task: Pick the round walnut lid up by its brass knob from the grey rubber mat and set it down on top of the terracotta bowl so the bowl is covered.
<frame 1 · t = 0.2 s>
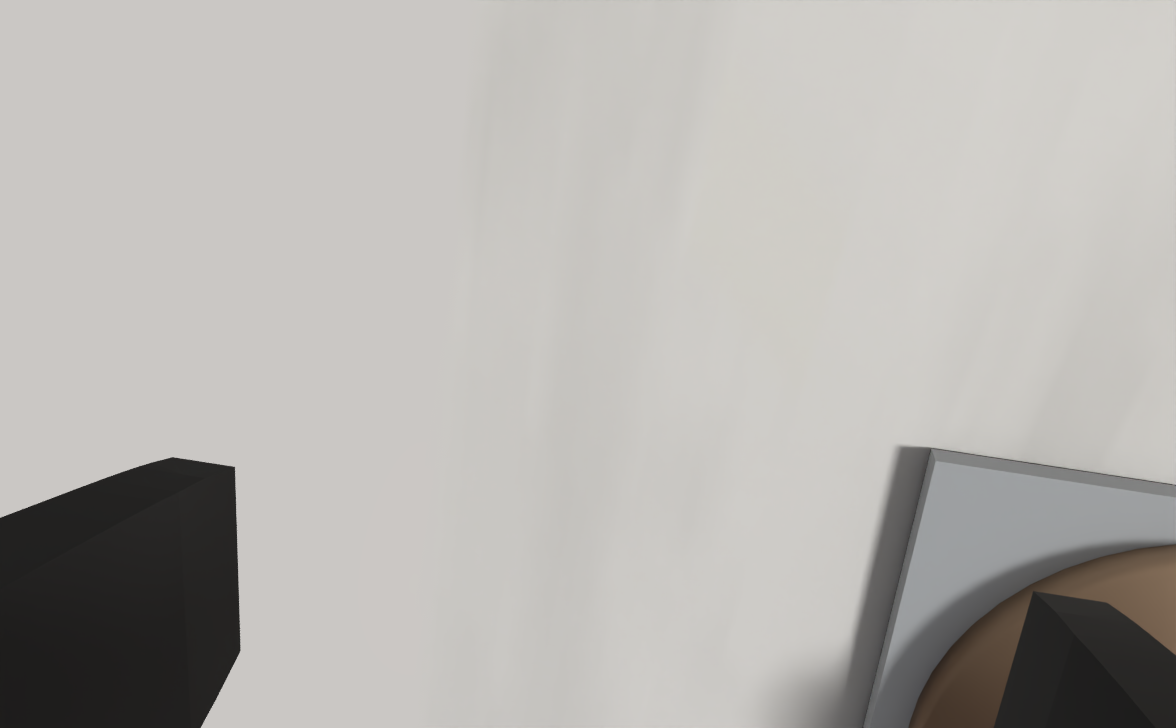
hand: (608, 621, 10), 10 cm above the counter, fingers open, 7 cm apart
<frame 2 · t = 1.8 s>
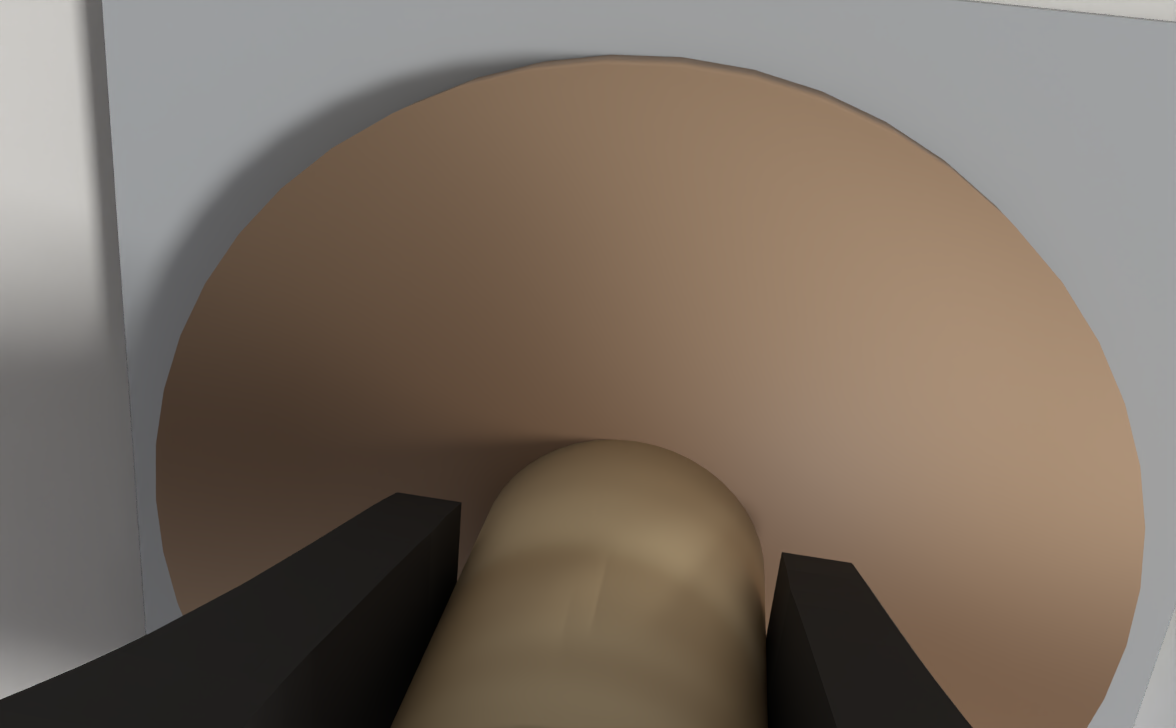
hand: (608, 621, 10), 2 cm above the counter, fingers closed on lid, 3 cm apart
lid: (628, 528, 11), resting on mat, touching gripper
mat: (633, 505, 12), on the counter
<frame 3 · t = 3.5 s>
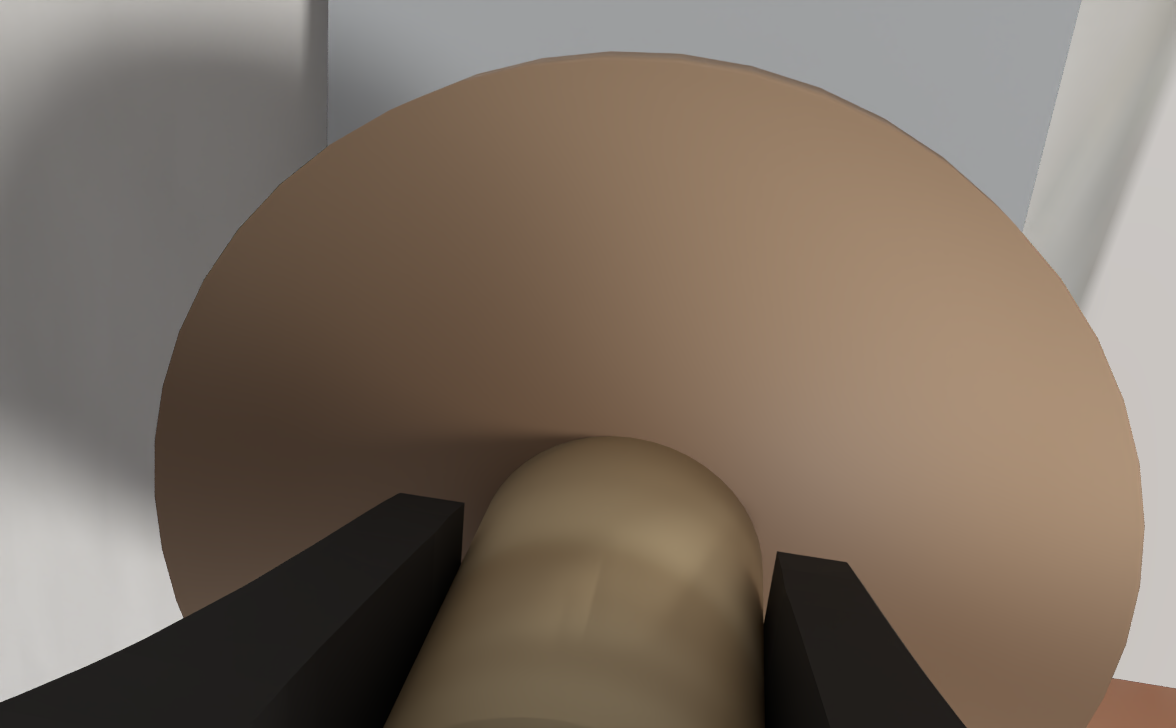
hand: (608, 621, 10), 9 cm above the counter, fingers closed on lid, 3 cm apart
lid: (627, 526, 11), point 7 cm above the counter, touching gripper
mat: (653, 276, 18), on the counter
when the fingers open (7 cm above the counter, at t = 4.9 s): lid drops 1 cm, resting on bowl.
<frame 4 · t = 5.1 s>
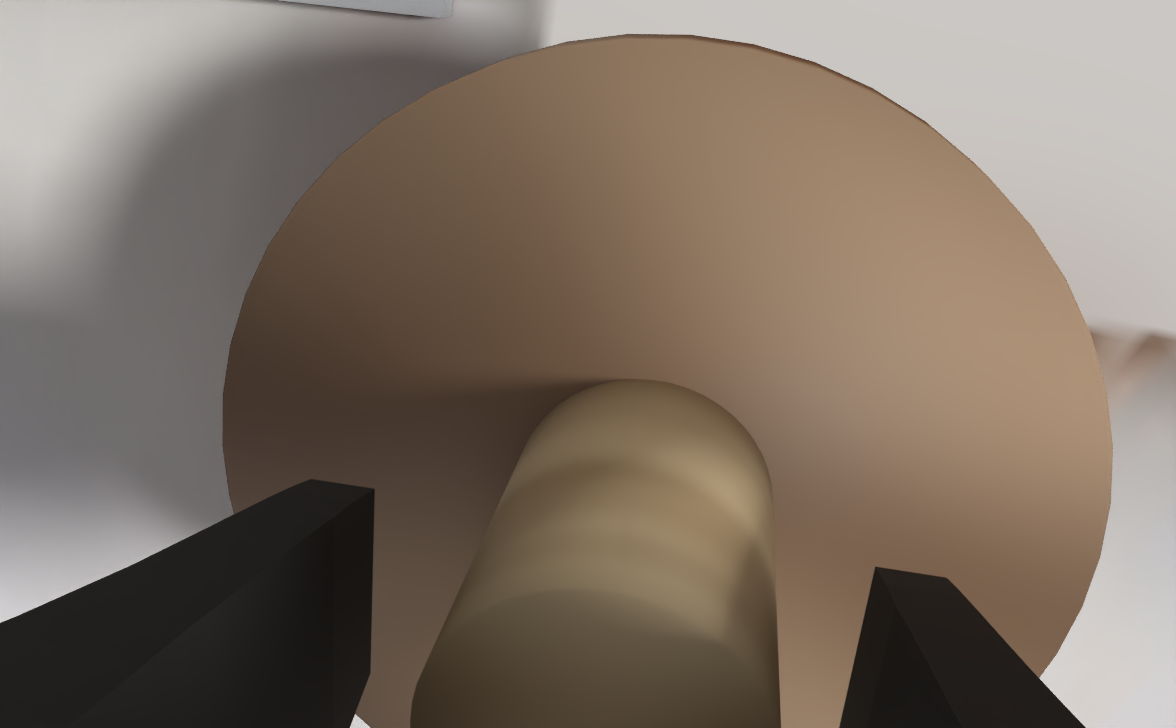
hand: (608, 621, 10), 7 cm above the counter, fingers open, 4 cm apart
lid: (648, 466, 13), point 4 cm above the counter, touching bowl
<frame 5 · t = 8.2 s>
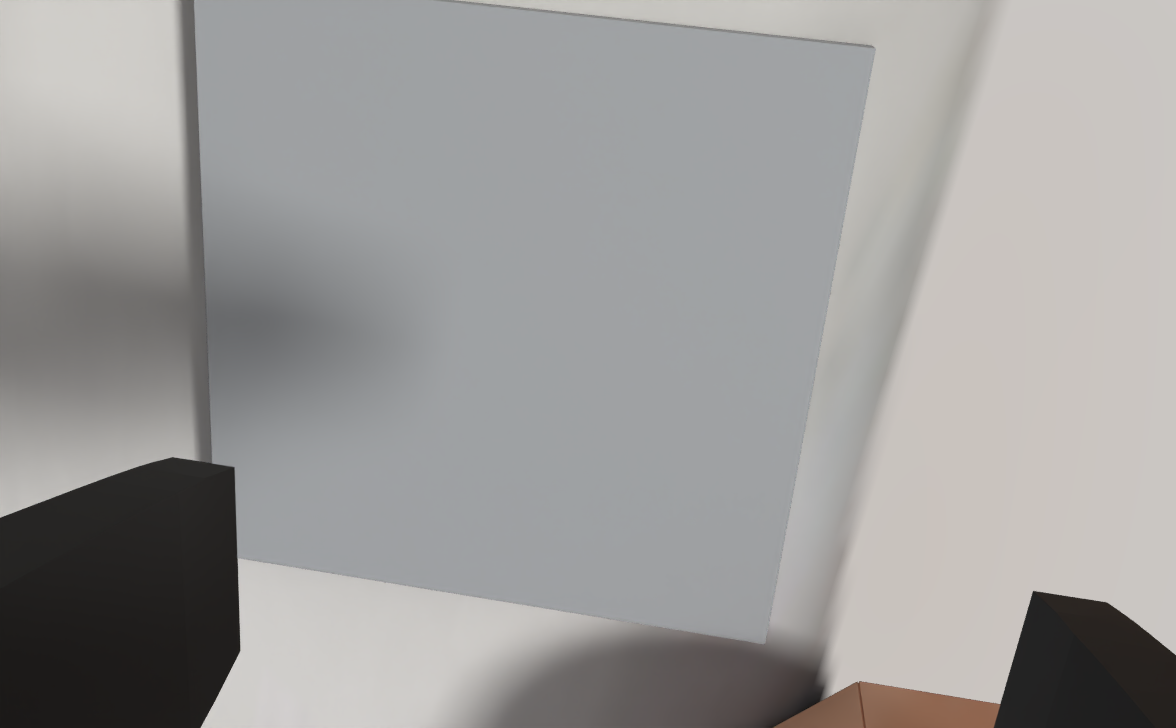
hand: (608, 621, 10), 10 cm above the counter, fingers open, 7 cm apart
mat: (507, 326, 20), on the counter
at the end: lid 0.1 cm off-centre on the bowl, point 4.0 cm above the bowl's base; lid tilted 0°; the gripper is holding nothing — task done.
